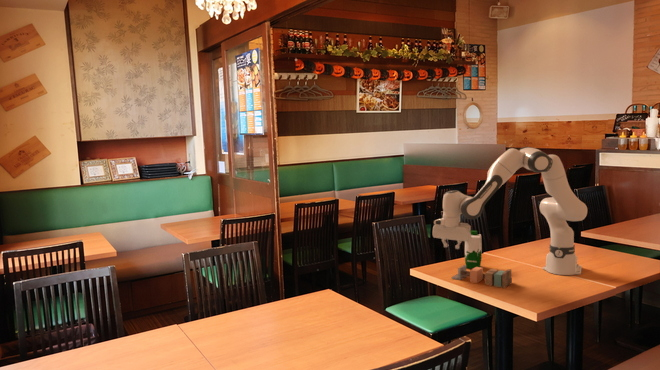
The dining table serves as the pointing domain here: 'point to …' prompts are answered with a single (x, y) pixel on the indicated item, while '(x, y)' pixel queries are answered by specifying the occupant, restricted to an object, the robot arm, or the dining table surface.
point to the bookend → (460, 273)
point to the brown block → (490, 277)
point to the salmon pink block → (476, 274)
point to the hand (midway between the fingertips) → (451, 247)
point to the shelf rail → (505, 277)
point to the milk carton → (473, 251)
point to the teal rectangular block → (498, 278)
